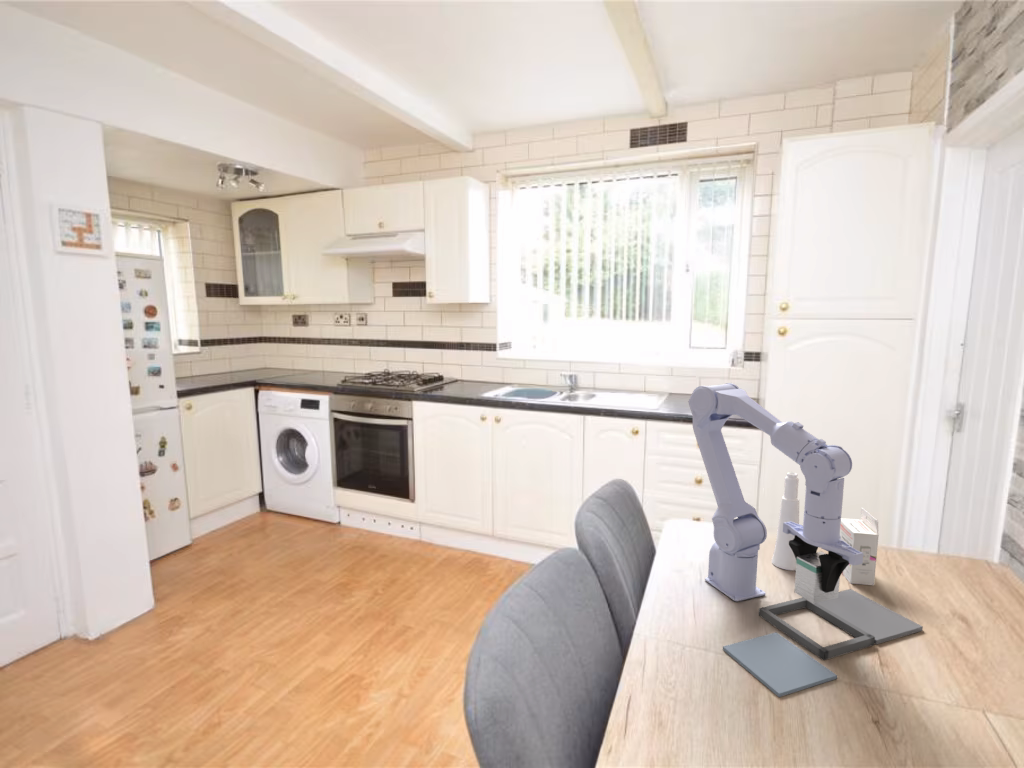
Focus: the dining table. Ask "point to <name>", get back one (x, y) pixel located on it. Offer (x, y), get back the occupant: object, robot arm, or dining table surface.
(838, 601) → the hinged gray frame
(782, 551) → the cosmetic bottle
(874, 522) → the ink cartridge box
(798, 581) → the block
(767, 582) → the dining table surface
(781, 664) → the pad
